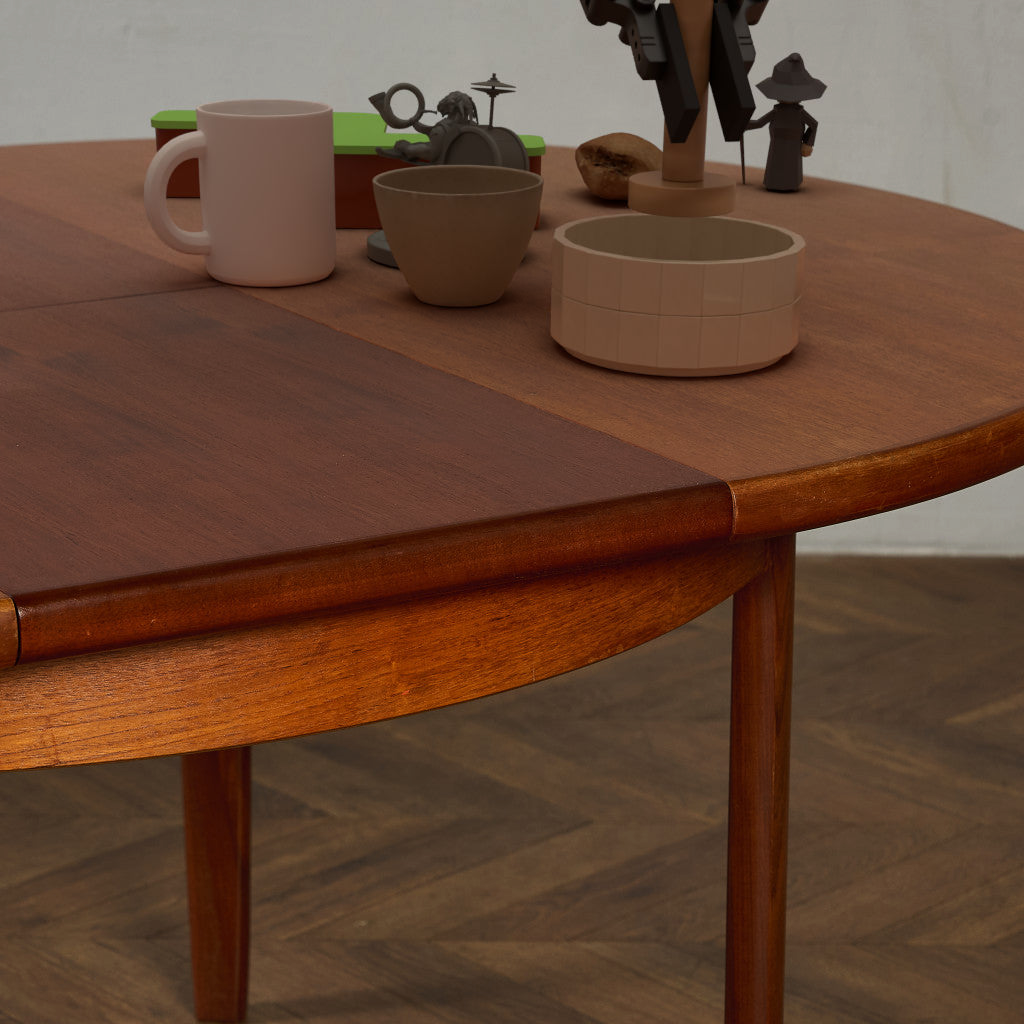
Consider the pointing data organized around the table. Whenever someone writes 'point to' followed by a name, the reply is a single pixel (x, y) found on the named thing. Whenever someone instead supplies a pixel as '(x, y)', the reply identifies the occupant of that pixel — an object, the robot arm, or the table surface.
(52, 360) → the table surface
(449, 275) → the flower pot
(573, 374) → the table surface
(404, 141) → the figurine
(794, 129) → the wizard figurine
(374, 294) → the table surface
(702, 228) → the bowl
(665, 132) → the masher
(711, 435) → the table surface
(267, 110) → the mug
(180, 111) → the planter
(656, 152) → the brown rounded lump
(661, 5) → the robot arm
